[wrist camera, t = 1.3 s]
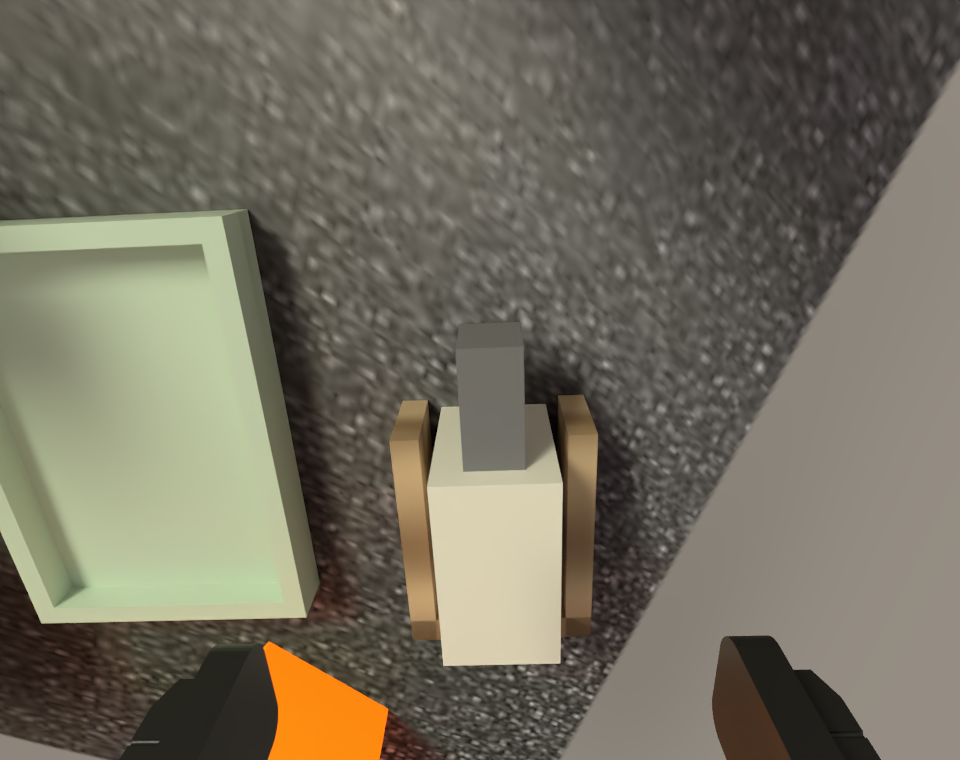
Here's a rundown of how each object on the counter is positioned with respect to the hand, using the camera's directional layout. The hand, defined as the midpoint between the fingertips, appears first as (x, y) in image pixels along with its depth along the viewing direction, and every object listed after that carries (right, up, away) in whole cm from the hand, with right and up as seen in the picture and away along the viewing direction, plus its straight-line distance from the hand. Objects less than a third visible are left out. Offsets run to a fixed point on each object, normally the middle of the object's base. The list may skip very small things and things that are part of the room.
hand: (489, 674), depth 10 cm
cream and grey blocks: (+1, +2, +18) cm, 18 cm away
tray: (-17, +3, +18) cm, 25 cm away
